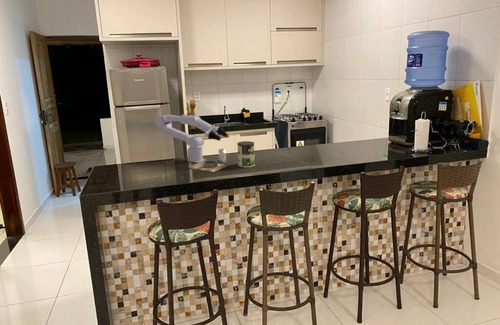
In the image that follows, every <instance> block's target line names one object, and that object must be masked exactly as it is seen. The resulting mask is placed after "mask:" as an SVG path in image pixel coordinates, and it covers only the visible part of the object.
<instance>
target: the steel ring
mask: <svg viewBox="0 0 500 325" xmlns="http://www.w3.org/2000/svg"><path fill="white" fill-rule="evenodd" d="M202 162H203V167H204V168H215V167H217V166H218V164H219V161H217V160H210V159H209V160H205V161H202Z"/></svg>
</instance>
